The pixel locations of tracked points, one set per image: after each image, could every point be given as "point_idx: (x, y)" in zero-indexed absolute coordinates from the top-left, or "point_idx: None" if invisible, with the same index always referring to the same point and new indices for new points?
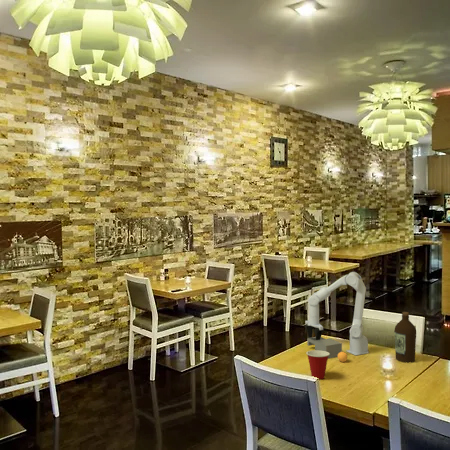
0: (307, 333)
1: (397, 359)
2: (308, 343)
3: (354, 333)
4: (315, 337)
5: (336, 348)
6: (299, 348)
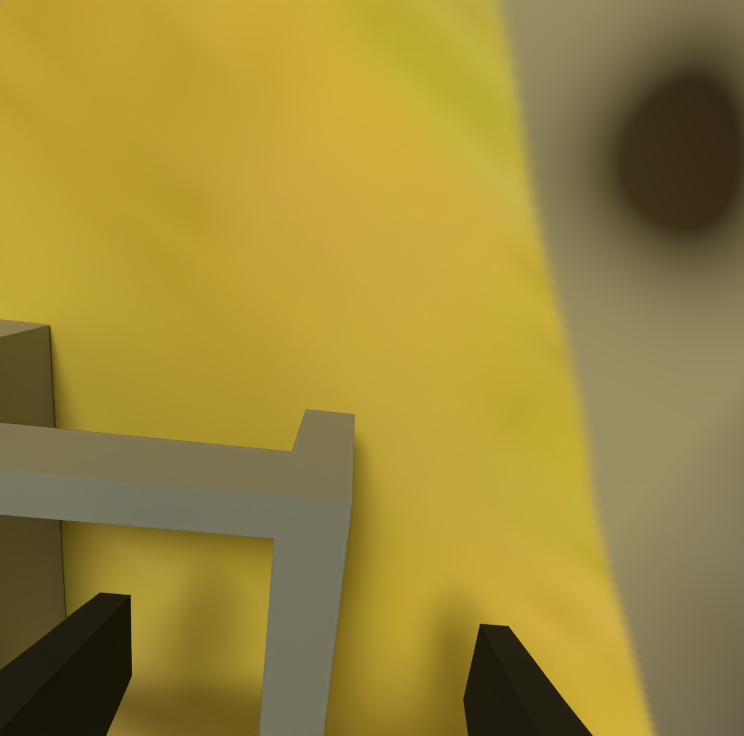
0: (580, 731)
1: None
2: (307, 430)
3: None
4: (271, 729)
5: None
6: (453, 261)
